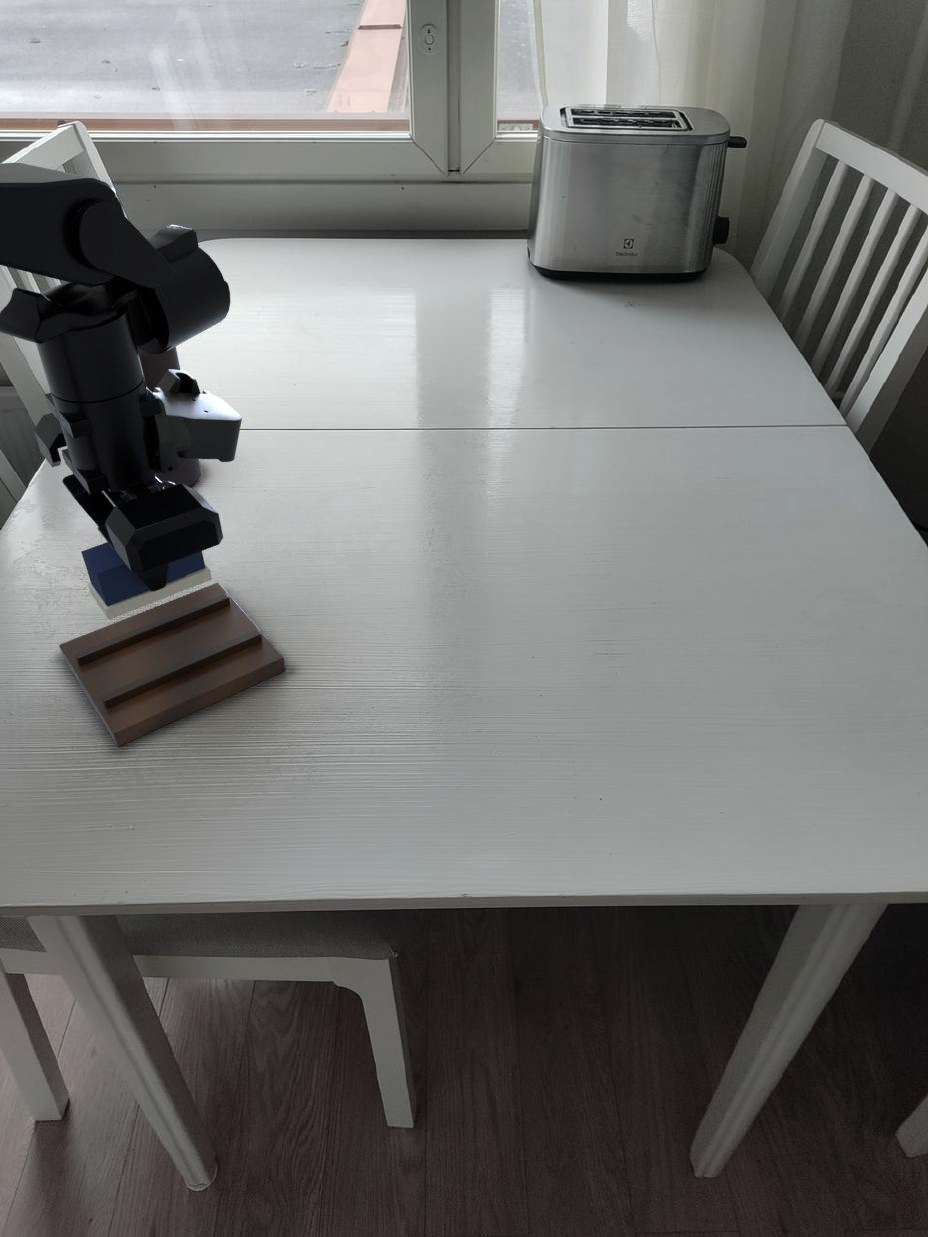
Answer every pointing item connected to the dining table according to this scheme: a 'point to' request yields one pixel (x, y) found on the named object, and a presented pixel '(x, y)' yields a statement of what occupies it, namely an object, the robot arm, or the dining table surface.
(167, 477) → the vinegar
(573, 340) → the dining table surface
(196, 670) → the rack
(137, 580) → the stepped navy block
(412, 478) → the dining table surface
